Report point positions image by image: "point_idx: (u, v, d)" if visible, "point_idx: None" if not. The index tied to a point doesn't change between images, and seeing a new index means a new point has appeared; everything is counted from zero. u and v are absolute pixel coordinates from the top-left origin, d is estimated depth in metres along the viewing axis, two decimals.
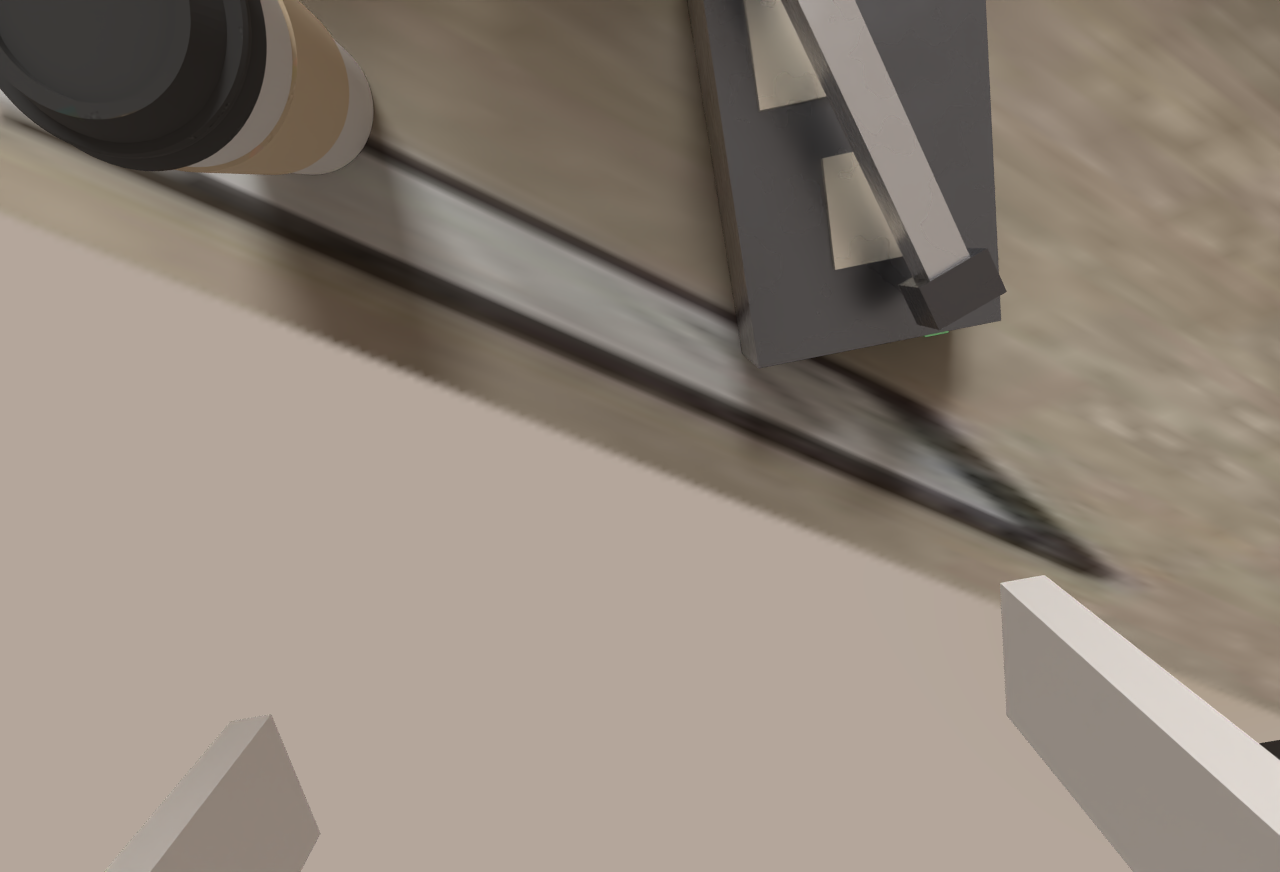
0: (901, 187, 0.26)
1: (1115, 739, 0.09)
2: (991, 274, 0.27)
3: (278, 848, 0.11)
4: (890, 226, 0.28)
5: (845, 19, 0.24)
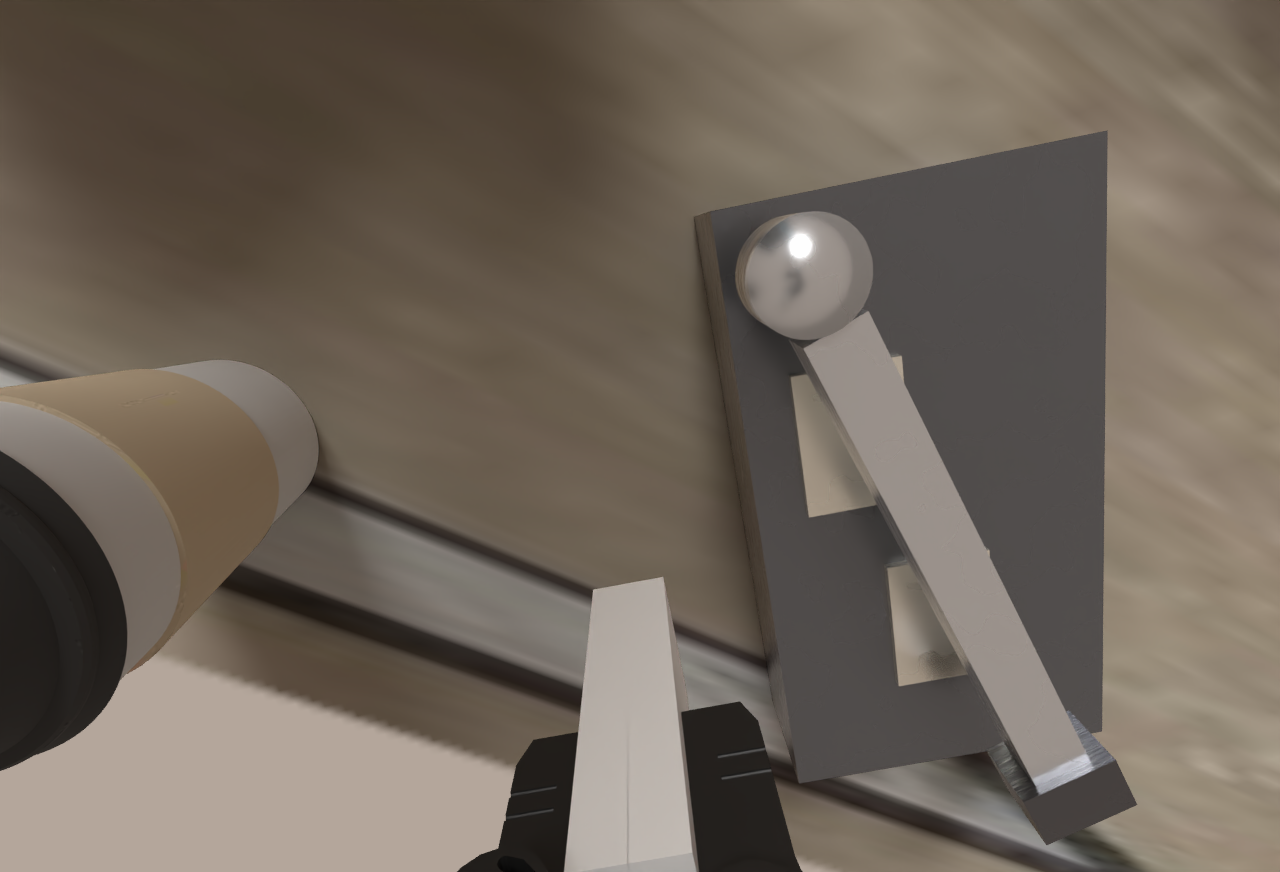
0: (1005, 690, 0.20)
1: None
2: (1118, 787, 0.20)
3: None
4: (981, 699, 0.21)
5: (940, 507, 0.18)
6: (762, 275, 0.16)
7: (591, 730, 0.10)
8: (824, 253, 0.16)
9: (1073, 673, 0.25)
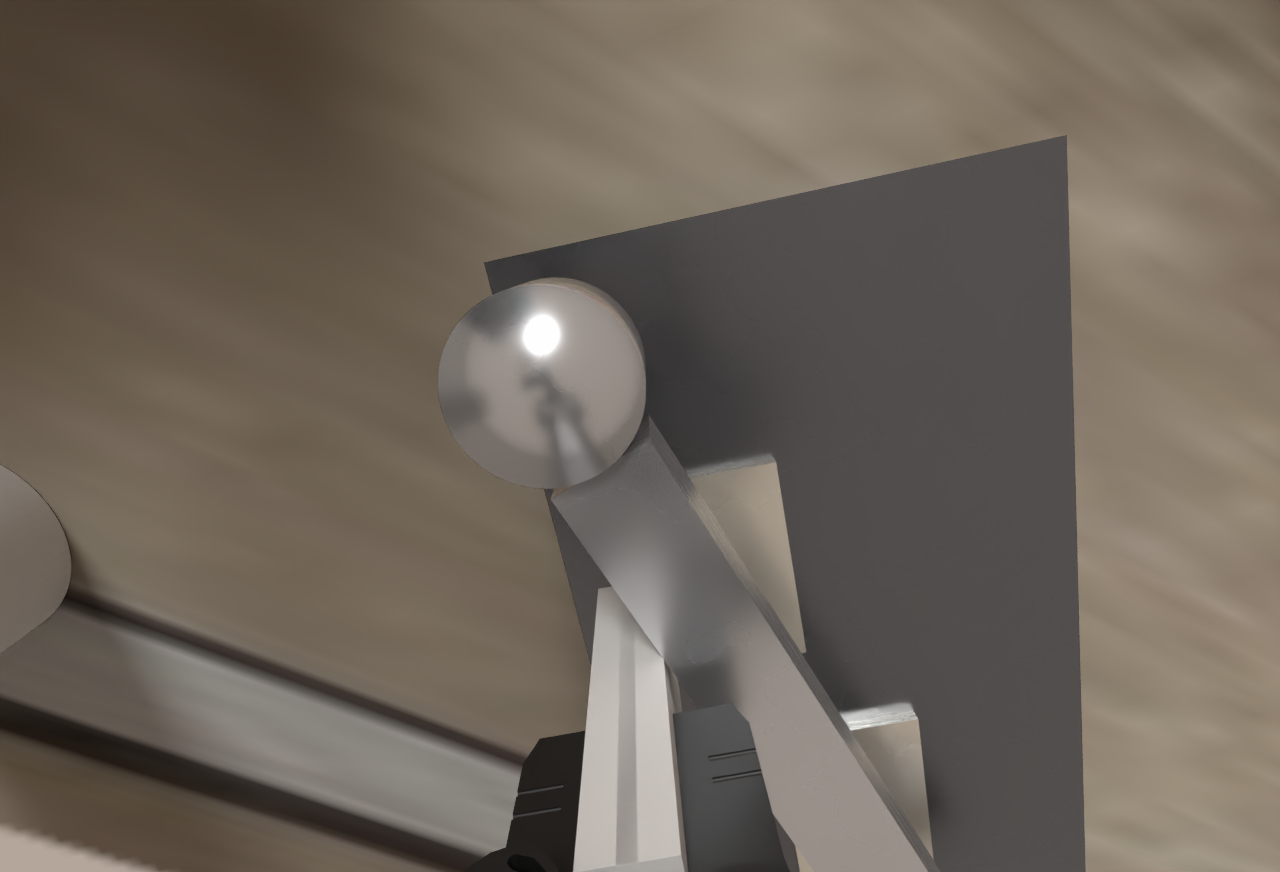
0: None
1: None
2: None
3: None
4: None
5: (797, 730, 0.11)
6: (461, 389, 0.10)
7: (598, 729, 0.10)
8: (559, 353, 0.09)
9: (1045, 871, 0.18)
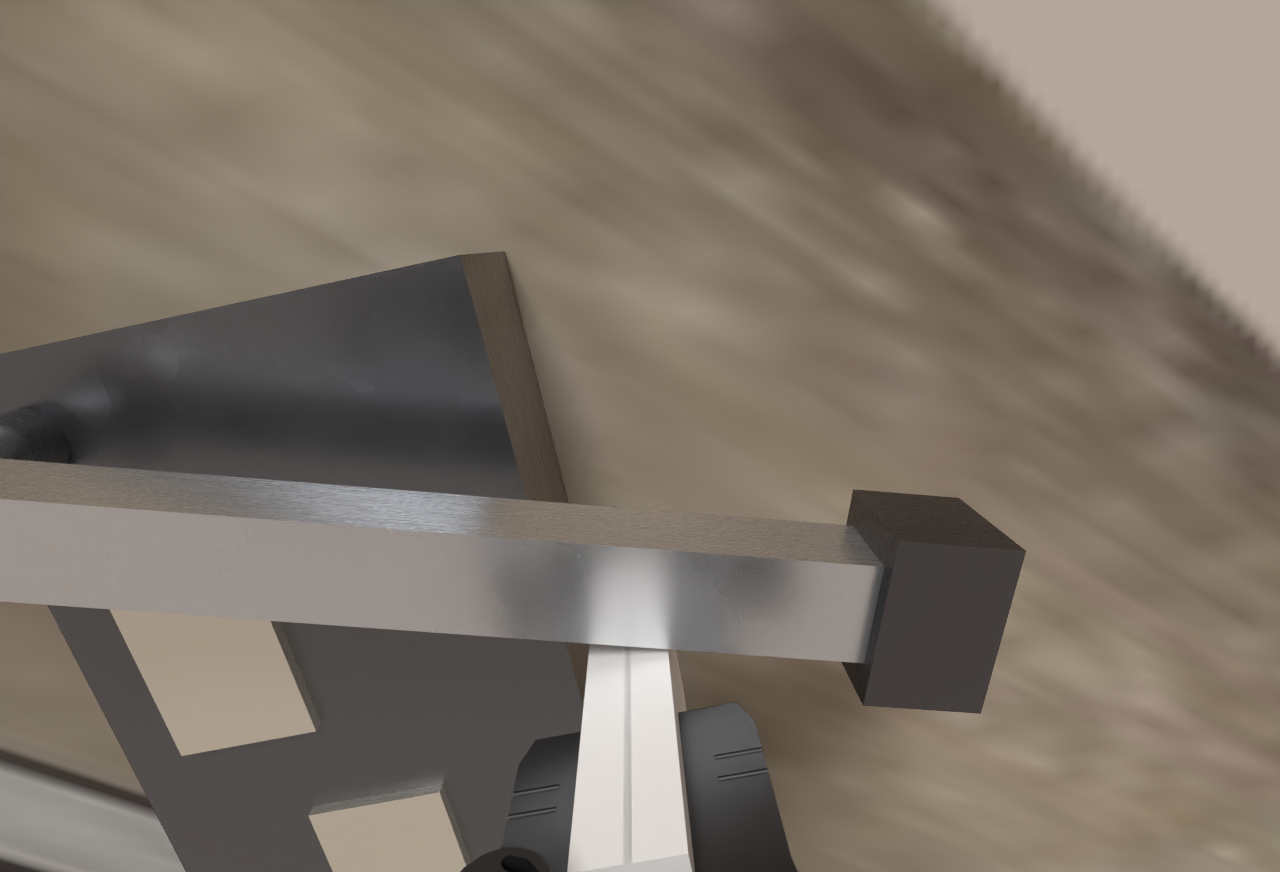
0: (639, 619, 0.11)
1: None
2: (961, 563, 0.10)
3: None
4: None
5: (239, 550, 0.10)
6: None
7: (593, 730, 0.10)
8: None
9: None
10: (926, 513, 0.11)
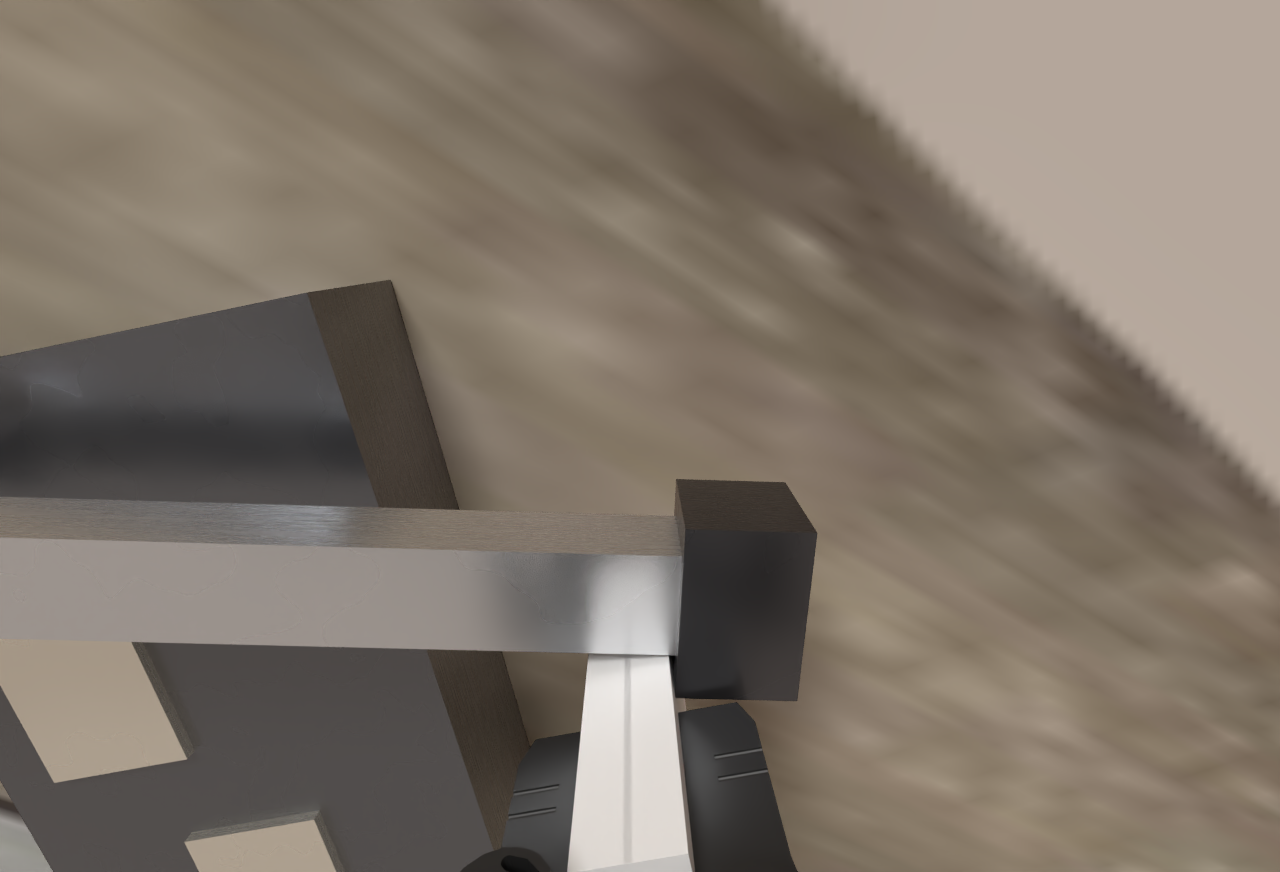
0: (442, 621, 0.11)
1: None
2: (752, 548, 0.10)
3: None
4: None
5: (30, 571, 0.10)
6: None
7: (594, 730, 0.10)
8: None
9: None
10: (737, 499, 0.11)
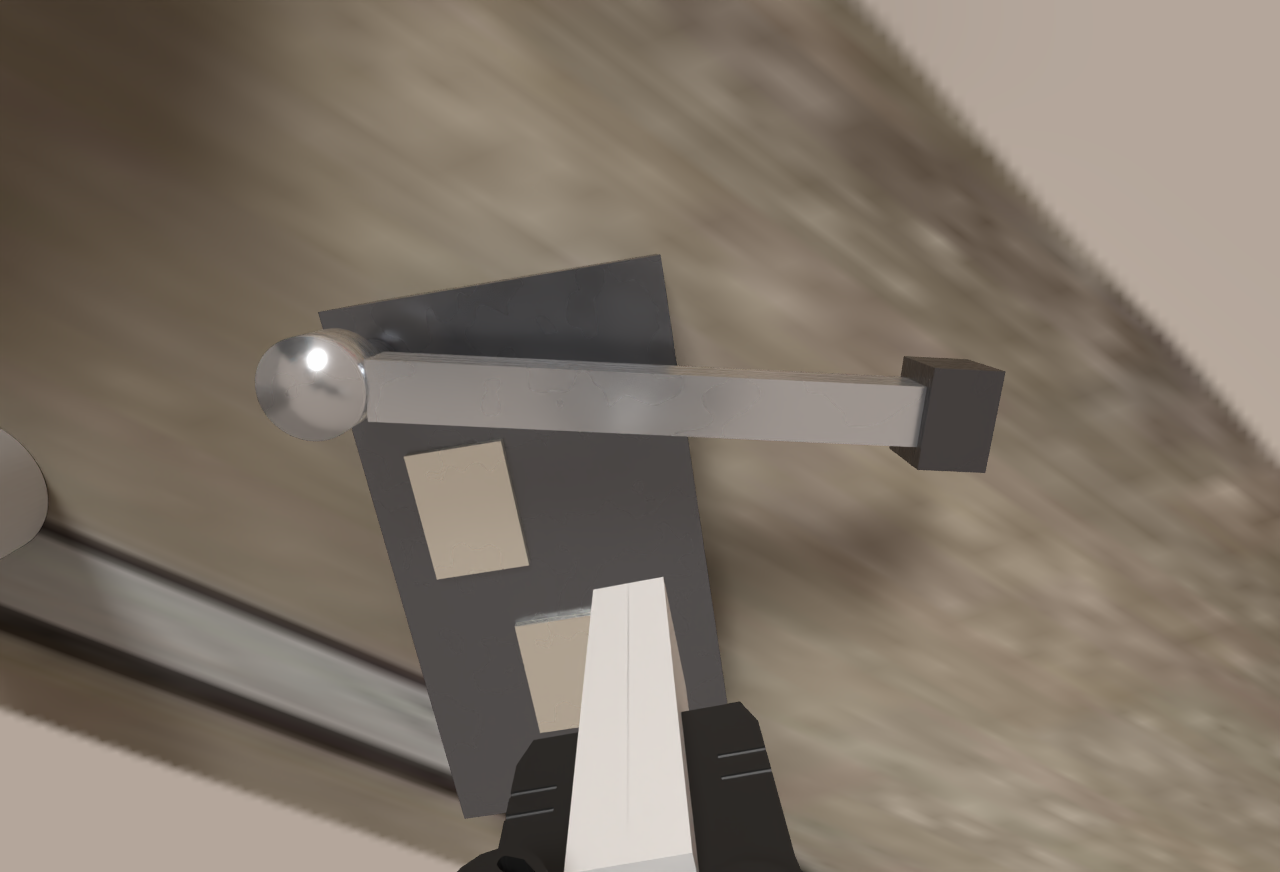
0: (789, 423, 0.19)
1: None
2: (970, 379, 0.19)
3: None
4: None
5: (569, 389, 0.19)
6: (289, 422, 0.19)
7: (591, 730, 0.10)
8: (295, 370, 0.18)
9: None
10: (948, 362, 0.20)
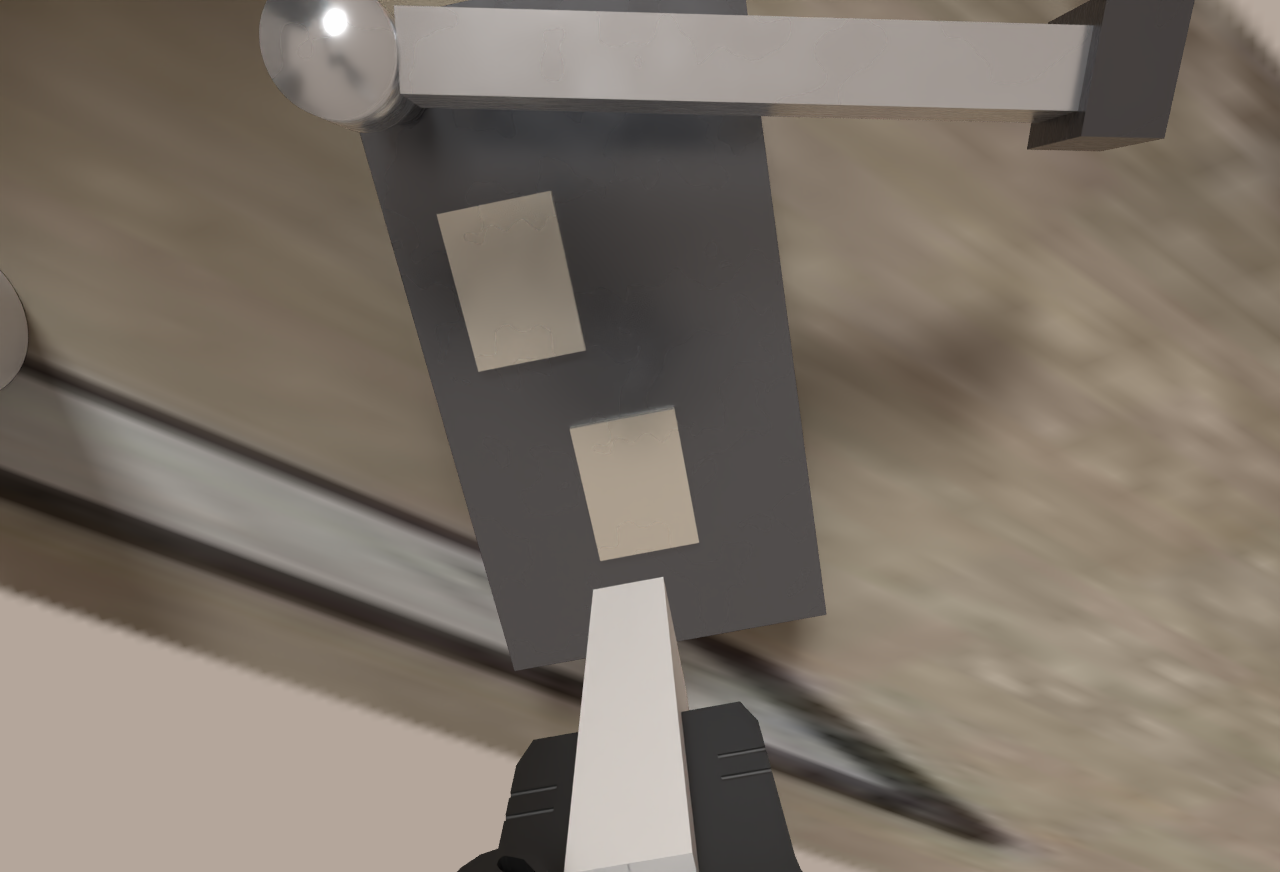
0: (921, 82, 0.16)
1: None
2: (1151, 6, 0.15)
3: None
4: (947, 119, 0.17)
5: (649, 41, 0.15)
6: (304, 92, 0.15)
7: (591, 730, 0.10)
8: (309, 18, 0.15)
9: (787, 549, 0.24)
10: None
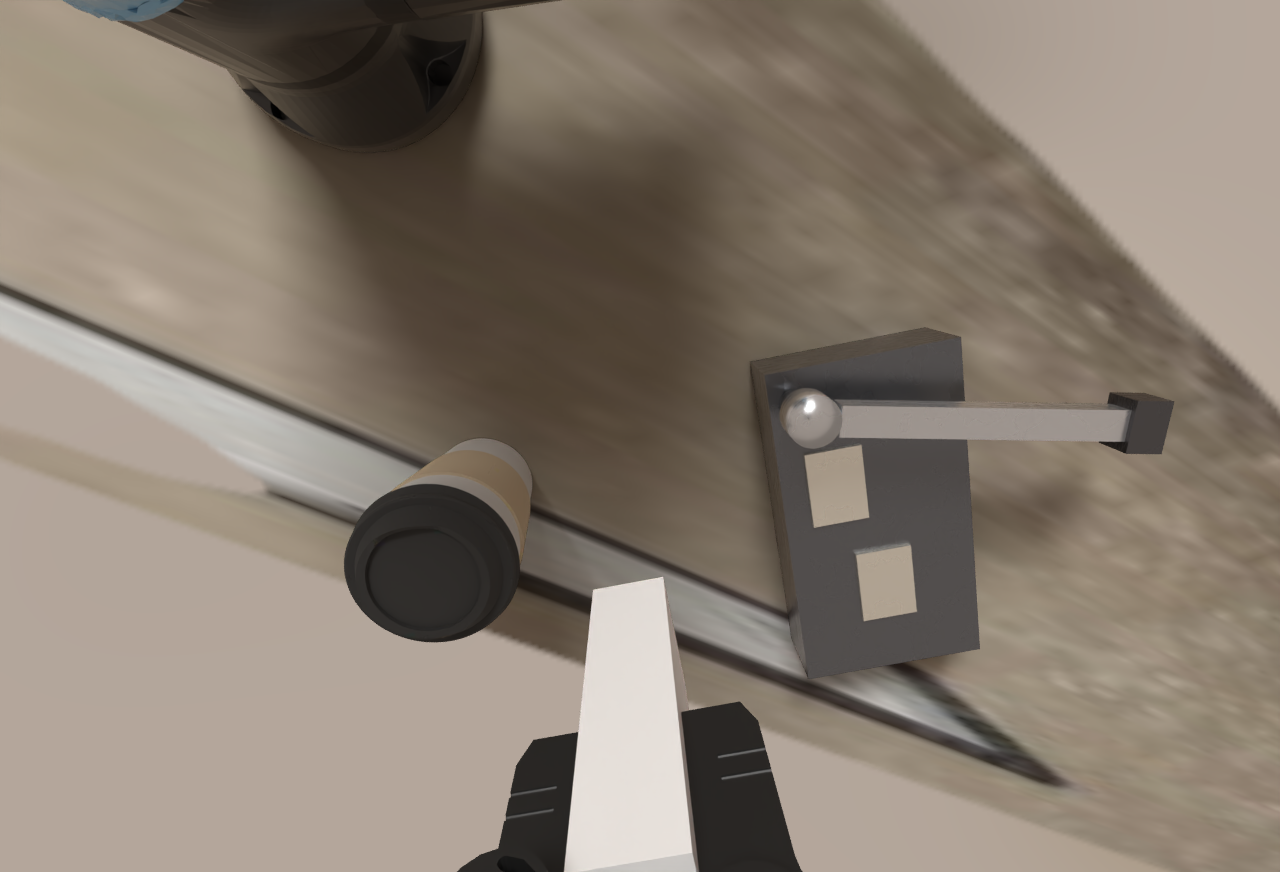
0: (1058, 431, 0.37)
1: None
2: (1155, 406, 0.36)
3: None
4: None
5: (946, 417, 0.36)
6: (801, 439, 0.36)
7: (591, 730, 0.10)
8: (809, 412, 0.36)
9: (961, 614, 0.45)
10: (1138, 396, 0.37)
